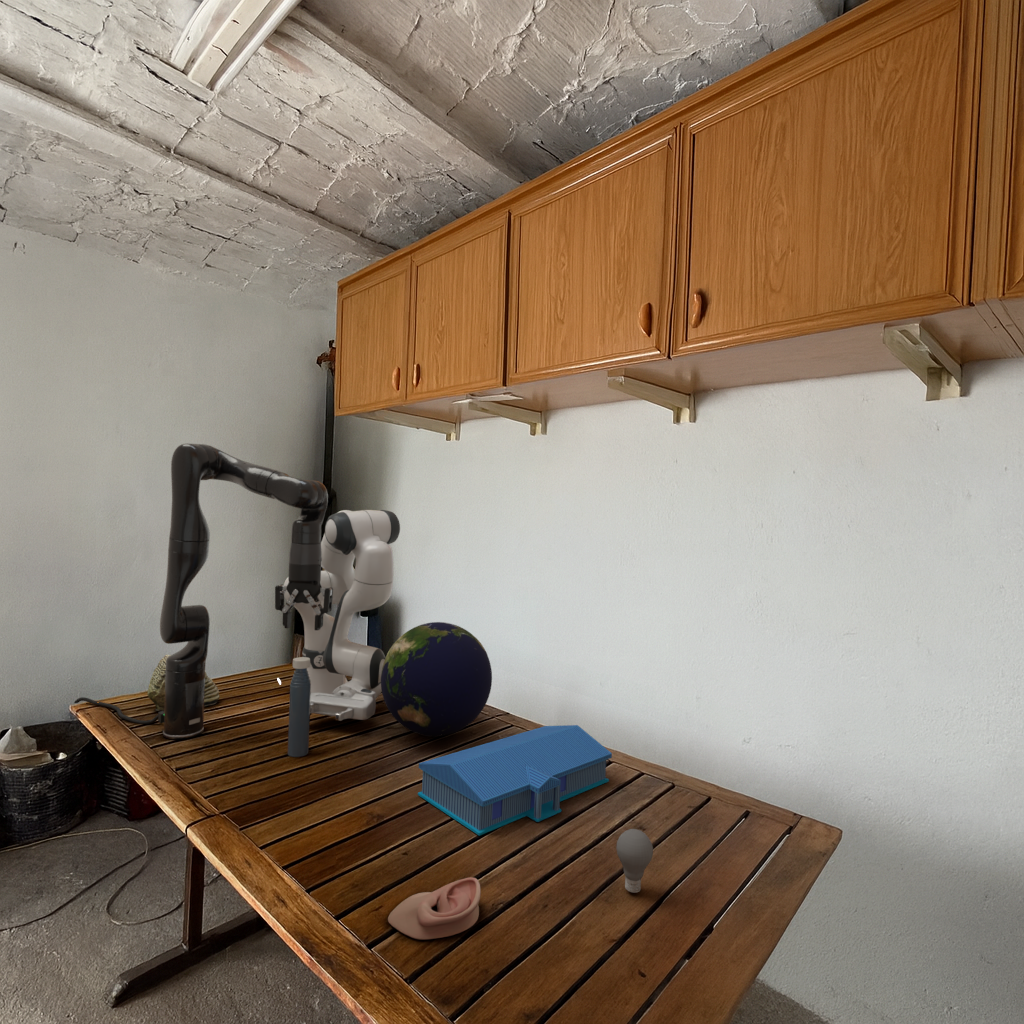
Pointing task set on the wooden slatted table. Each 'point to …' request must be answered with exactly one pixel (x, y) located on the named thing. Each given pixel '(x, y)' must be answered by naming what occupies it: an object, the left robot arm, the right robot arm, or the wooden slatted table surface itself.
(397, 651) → the globe
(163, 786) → the wooden slatted table surface
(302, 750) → the bottle
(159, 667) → the fossil
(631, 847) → the light bulb
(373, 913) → the wooden slatted table surface
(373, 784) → the wooden slatted table surface
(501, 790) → the model building
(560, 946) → the wooden slatted table surface
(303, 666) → the cap
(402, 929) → the anatomical model
